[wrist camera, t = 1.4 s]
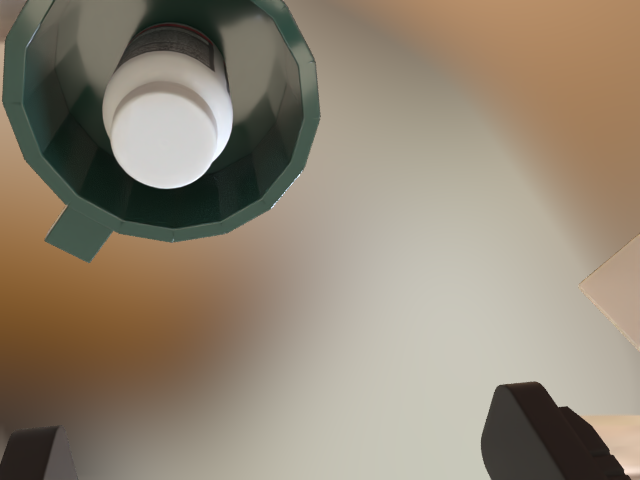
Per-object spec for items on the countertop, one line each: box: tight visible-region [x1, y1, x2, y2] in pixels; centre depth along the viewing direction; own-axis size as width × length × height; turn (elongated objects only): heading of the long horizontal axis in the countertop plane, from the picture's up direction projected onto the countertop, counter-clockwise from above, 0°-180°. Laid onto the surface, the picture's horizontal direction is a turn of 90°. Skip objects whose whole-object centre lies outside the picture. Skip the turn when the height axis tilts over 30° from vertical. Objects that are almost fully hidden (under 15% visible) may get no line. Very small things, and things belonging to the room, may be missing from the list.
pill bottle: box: [102, 22, 233, 189], centre depth 26 cm, size 5×5×10 cm
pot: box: [2, 0, 320, 263], centre depth 28 cm, size 13×19×6 cm
